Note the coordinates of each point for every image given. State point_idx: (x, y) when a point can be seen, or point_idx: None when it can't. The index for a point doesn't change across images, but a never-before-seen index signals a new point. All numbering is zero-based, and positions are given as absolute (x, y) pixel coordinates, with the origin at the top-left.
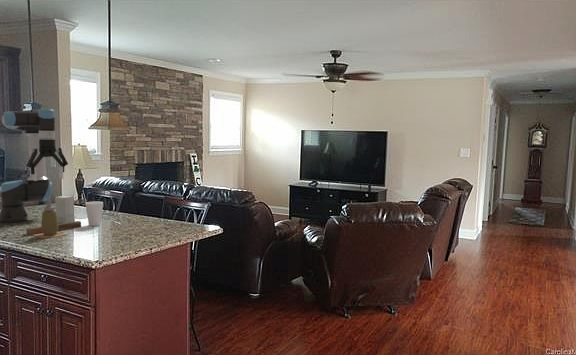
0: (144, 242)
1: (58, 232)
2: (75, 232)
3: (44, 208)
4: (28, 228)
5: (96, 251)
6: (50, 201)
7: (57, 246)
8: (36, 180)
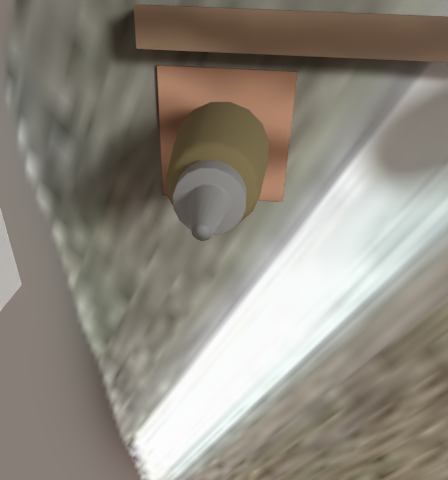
0: (366, 465)
1: (282, 124)
2: (346, 178)
3: (173, 195)
4: (144, 10)
5: (203, 445)
6: (213, 233)
7: (147, 334)
8: (13, 288)
